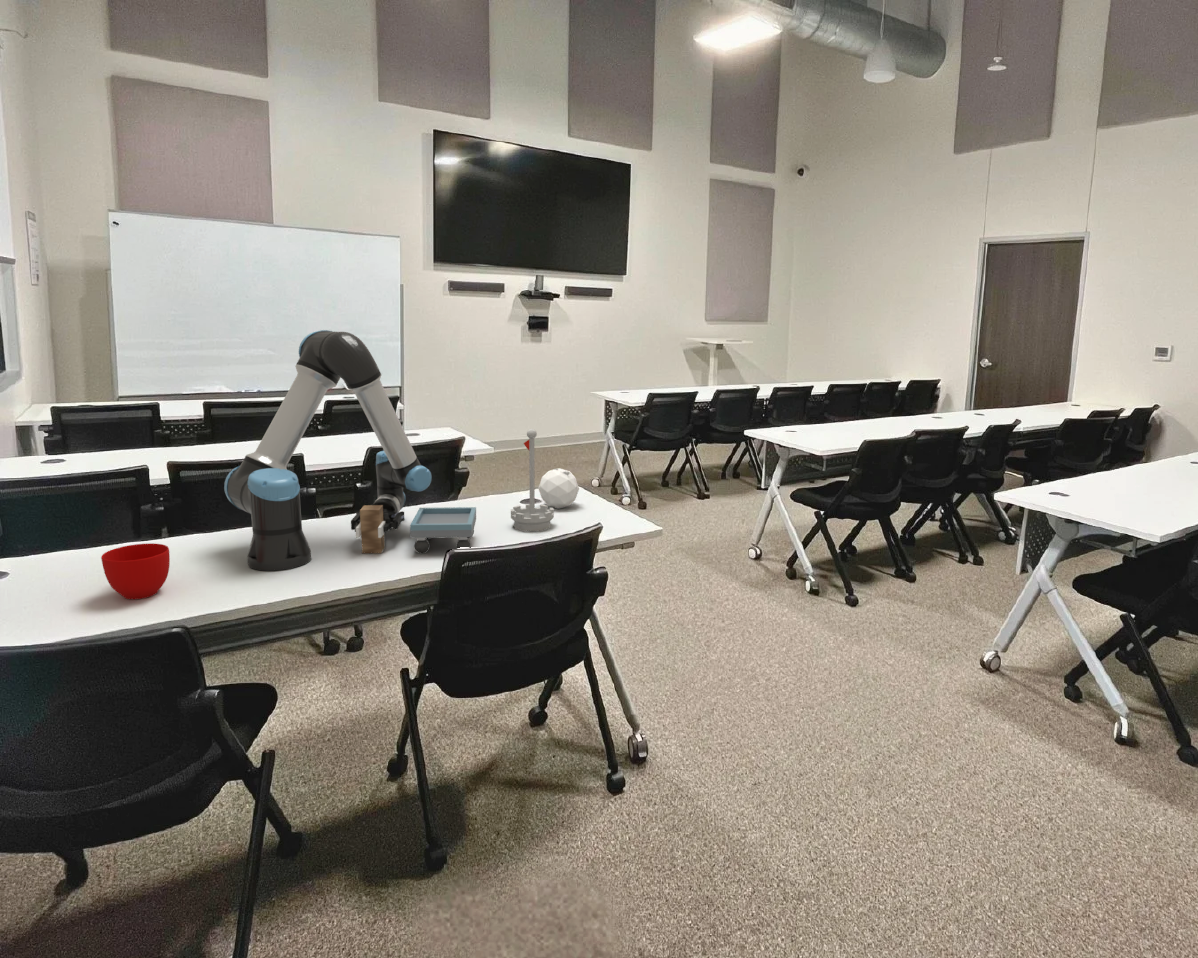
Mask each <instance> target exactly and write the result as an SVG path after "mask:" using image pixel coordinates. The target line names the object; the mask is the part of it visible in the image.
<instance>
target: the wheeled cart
mask: <svg viewBox="0 0 1198 958" xmlns="http://www.w3.org/2000/svg"><path fill="white" fill-rule="evenodd" d="M476 522H477V507H476V506H475V507H473V506H470V507H467V506H462V507H460V506H459V507H451V506H450V507H419V509H418V510H417V511H416V514H415V515H414V517H413V519H412V521H411V523H410V525H409V529H410V530H409V531H410V533H409V534H410V538H411V539H416V541H415V543H414V550H415V552H416V553H418V554H425V553H427V552H428V551H429V548H430V542H429V540H431V539H433V538H458V540H457V541H456V545H455V547H456V548H460V547H470V548H471V541H470V540H469V539H471V538H473V536H474V533H475V527H476Z"/></svg>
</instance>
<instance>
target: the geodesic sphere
mask: <svg viewBox="0 0 1198 958" xmlns="http://www.w3.org/2000/svg"><path fill="white" fill-rule="evenodd" d="M537 488H538V491H539V494H540V497H541V500H543V502H544V503H545V504H546V505H547V506H548V507H550V508H553V509H562V508H567V507H570V506H571V505H572V503H574V501H576V500H577V499H576V498H577V497H578V493H579V490H580V487H579V483H578V482H577V478H576V476H575V475H574V474H573V473H572V472H571V471H570V470H567V469H563V468H560V467H559V468H557V467H556V468H553V469H551V470H548V471H547V472H546V473H545V474H544V475H542V476H541V478H540V483H539V484H538V487H537Z"/></svg>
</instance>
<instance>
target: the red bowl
mask: <svg viewBox="0 0 1198 958" xmlns="http://www.w3.org/2000/svg"><path fill="white" fill-rule="evenodd" d="M100 559H101V564H102V568H103V572H104V574H105V575H104V576H105V578H106V580H107V582H108V584H109V585H110V587H111V589H113V590H114V591H115V592H116V593H118V594H119V595H121V596H122V597H123V598H124V599H126V600H141V599H147V598H149V597H153V596H154V595H156V594H157V593H158V592H159V590H161V589H162V587H163V585H164V584H165V582H166V580H167V578H168V576H169V571H170V562H171V561H170V559H171V558H170V548H169V546H167V545H166V544H162V543H136V544H130V545H124V546H121V547H120V546H119V547H116V548H114V549H113V548H112V549H110V550H107V551H106V552H104V553H102V555H101V557H100Z"/></svg>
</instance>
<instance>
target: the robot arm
mask: <svg viewBox="0 0 1198 958" xmlns="http://www.w3.org/2000/svg"><path fill="white" fill-rule="evenodd" d="M298 356H299V358H298V360H297V362H296V364H295V365H294V366H295V369H296V373H297V375H296V376H295V378H294V381H293V382H292V384H291V386H290V387H289V389H288V391H287V393H286V395H285V397H284V398H283V400H282V402H281V404H280V406H279V407H278V410H277V411H276V413H275V415H274V417H273V418H272V420H271V423H270V424H269V426H268V427H267V429H266V431H265V433H264V435H263V437H262V439H261V440H260V442H259V444H258V445H257V448H256V450H255V451H254V452H250V453H248V454H246V455H245V456H244V458H243V459H242V461H241V464H240V465H238V466H236V467H234V468H233V469H232V470H231V471H229V473H228V474H227V475H226V477H225V479H224V487H223V489H224V493H225V494H224V495H225V496H226V498H227V500H228V501H229V502H230V503H231V504H232V505H233V506H234V507H235V508H237V509H239V510H241V511H243V512H246V513H247V514H249V515H250V516H251V519H250V520H251V528H252V536H251V537H252V538H251V542H250V545H249V549H248V552H247V555H246V556H247V566H248V568H250V569H252V570H257V571H269V572H270V571H283V570H289V569H290V570H291V569H295V568H298V567H300V566H303V565H307V563H309V562H310V561H311V560H312V550H311V548H310V545H309V542H308V540H307V538H306V536H305V533H304V531H303V523H302V521H303V520H302V509H301V508H302V507H301V494H300V493H301V492H300V491H301V486H300V484H299V478H298V475H297V474H296V473H295V472H294V471H291V470H289V469H287V466H288V464H289V462H290V460H291V458H292V456H293V454H294V452H295V451H296V449H297V447H298V445H299V443H300V442H301V439H302V438H303V436H304V434H305V432H306V430H307V428H308V427H309V425H310V423H311V421H312V419H313V417H314V416H315V413H316V412H317V410H318V408H319V406H320V405H321V403H322V401H323V398H325V395H326V393H327V391H328V390H329V389H330V390H331V389H332V388H336V386H337V385H338V383H339V381H340V379H341V380H342V381H344V384H345V385H346V388H347V389H348V390H350V391H352V392H353V393H354V394H355V397H356V399H357V400H358V402H359V404H360V406H361V409H362V410H363V413H364V414H365V416H366V419H367V420H368V422H369V424H370V426H371V428H372V430H373V432H374V434H375V436H376V438H377V439H378V442H379V443H380V447H382V450H381V451H379V452H377V453H376V456H375V471H376V472H375V473H376V483H377V499H376V500H374V502H373V504H372V505H383V520H384V521H382V523H381V524H380V526H379V527H378V538H381V537H382V536H383V534H384V535H385V533H387V532H389V531H390V530H391V529H393V530H396V531H397V530H398V529H399V527H400V525H401V523H403V522H404V521H405V511H403V510H402V509H403V508H404V506H405V503H406V494H405V492H404V489H406V490H409V491H412V492H423V491H426V490H427V489H428V487H430V485H431V483H432V472H431V471H430V469H428V468H427V467H426V466H424V465H422V464H421V463H420V461H419V459H418V457H417V455H416V453H415V450H414V448H413V446H412V445H411V442H410V440H409V438H408V436H407V434H406V432H405V430H404V428H403V425H402V424H401V421H400V420H399V417H398V415H397V413H396V411H395V409H394V407H393V404H392V402H391V400H390V399H389V396H388V394H387V392H386V390H385V388H384V386H383V384H382V381H381V379H382V378H381V377H382V373H381V371H380V369H379V366H378V364H377V362H376V361H375V359H374V357H373V355H372V354H371V352H370V350H369V349H368V347H367V346H366V344H365V343H364V342H363V341H362V340H361V339H360V337H358V336H356V334H353V333H350V332H347V331H332V330H327V329H325V330H324V329H323V330H321V329H320V330H318V331H313V332H311V333H309V334H307V335H306V336H305V337H304V338H303V339H302V341H301V342H300V344H299V347H298ZM350 527H351V528H350V529H351V530H352V531H353V530H354V533H355V539H360V538H361V522H360V511H356V512H355V515H354V516H353V518H352V519H351V520H350Z"/></svg>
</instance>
